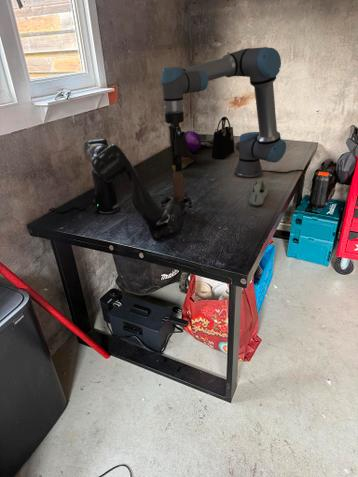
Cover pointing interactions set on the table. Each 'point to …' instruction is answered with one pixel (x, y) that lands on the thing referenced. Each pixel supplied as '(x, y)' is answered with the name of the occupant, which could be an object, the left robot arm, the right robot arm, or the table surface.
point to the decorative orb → (193, 141)
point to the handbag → (223, 140)
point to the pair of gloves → (207, 141)
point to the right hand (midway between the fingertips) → (177, 169)
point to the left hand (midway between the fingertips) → (179, 195)
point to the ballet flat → (258, 193)
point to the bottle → (178, 186)
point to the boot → (186, 152)
